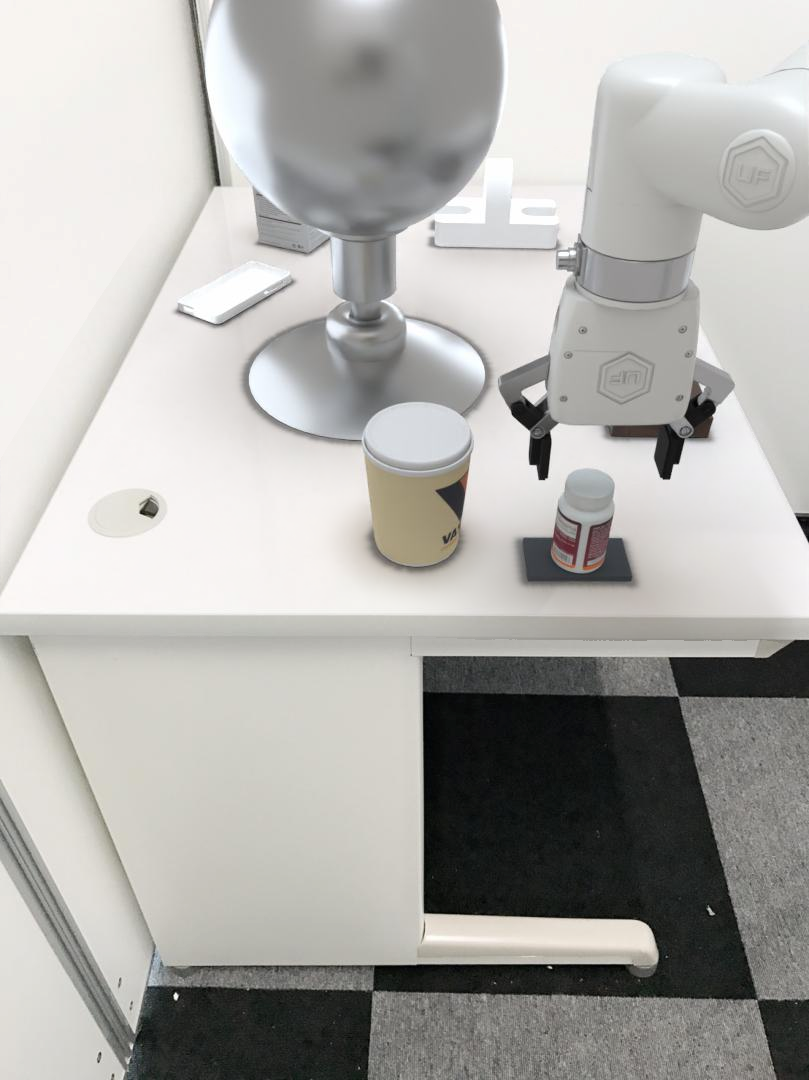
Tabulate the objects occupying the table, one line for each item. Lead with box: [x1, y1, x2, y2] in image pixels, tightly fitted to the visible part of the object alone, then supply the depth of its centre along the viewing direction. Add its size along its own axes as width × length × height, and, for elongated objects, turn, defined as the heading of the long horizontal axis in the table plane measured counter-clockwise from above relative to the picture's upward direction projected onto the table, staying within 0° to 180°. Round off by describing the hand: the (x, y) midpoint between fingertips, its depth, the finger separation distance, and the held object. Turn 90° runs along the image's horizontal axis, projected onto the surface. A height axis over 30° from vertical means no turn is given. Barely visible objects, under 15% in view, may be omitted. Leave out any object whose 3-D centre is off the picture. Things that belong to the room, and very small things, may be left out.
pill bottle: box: [551, 467, 616, 573], centre depth 73 cm, size 5×5×8 cm
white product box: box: [251, 184, 330, 254], centre depth 123 cm, size 9×9×15 cm
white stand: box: [434, 157, 560, 250], centre depth 125 cm, size 10×18×11 cm, turn 87°
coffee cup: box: [361, 402, 475, 568], centre depth 74 cm, size 9×9×12 cm
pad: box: [522, 537, 633, 582], centre depth 76 cm, size 9×5×1 cm, turn 89°
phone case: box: [177, 260, 292, 325], centre depth 113 cm, size 7×1×15 cm
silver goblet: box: [204, 0, 509, 441], centre depth 85 cm, size 28×28×45 cm
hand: (601, 469), depth 68 cm, fingers open, 9 cm apart
